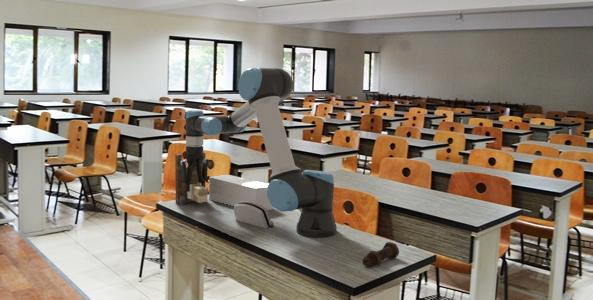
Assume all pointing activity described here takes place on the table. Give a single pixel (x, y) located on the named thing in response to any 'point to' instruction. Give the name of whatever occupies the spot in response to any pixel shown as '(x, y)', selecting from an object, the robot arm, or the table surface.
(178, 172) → the wooden cleated plank
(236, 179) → the white ribbed block
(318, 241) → the table surface
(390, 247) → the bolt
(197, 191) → the tan wooden block
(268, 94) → the robot arm
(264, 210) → the white rounded block
